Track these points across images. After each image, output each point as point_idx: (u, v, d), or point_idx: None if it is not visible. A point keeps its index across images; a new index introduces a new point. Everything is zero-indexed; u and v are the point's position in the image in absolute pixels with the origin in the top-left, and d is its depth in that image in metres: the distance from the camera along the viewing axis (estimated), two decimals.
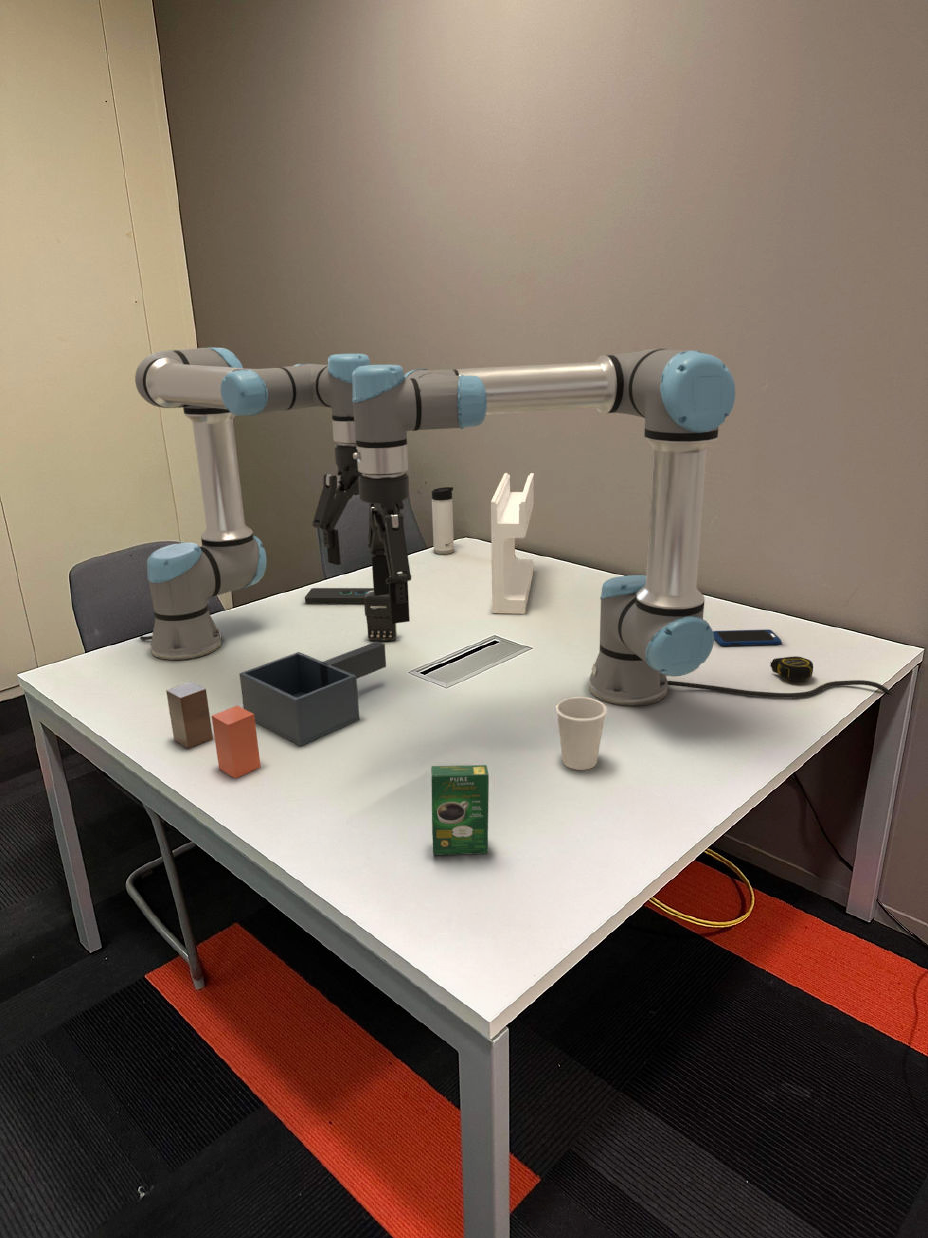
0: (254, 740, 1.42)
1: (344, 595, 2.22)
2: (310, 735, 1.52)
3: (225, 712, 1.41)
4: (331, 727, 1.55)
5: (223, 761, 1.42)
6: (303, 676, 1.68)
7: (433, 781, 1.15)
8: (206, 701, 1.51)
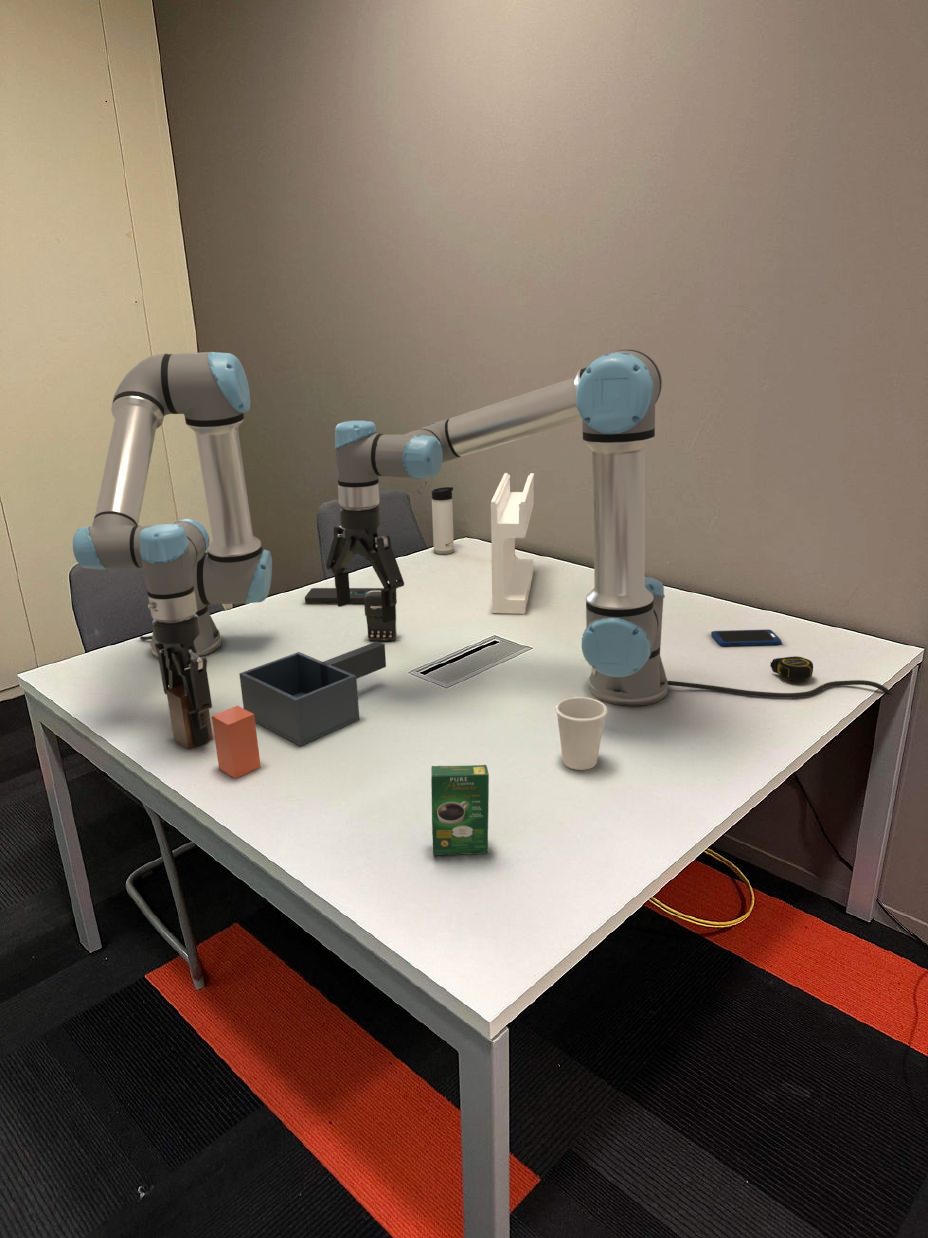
0: (254, 740, 1.42)
1: None
2: (310, 735, 1.52)
3: (225, 712, 1.41)
4: (331, 727, 1.55)
5: (223, 761, 1.42)
6: (303, 676, 1.68)
7: (433, 781, 1.15)
8: None
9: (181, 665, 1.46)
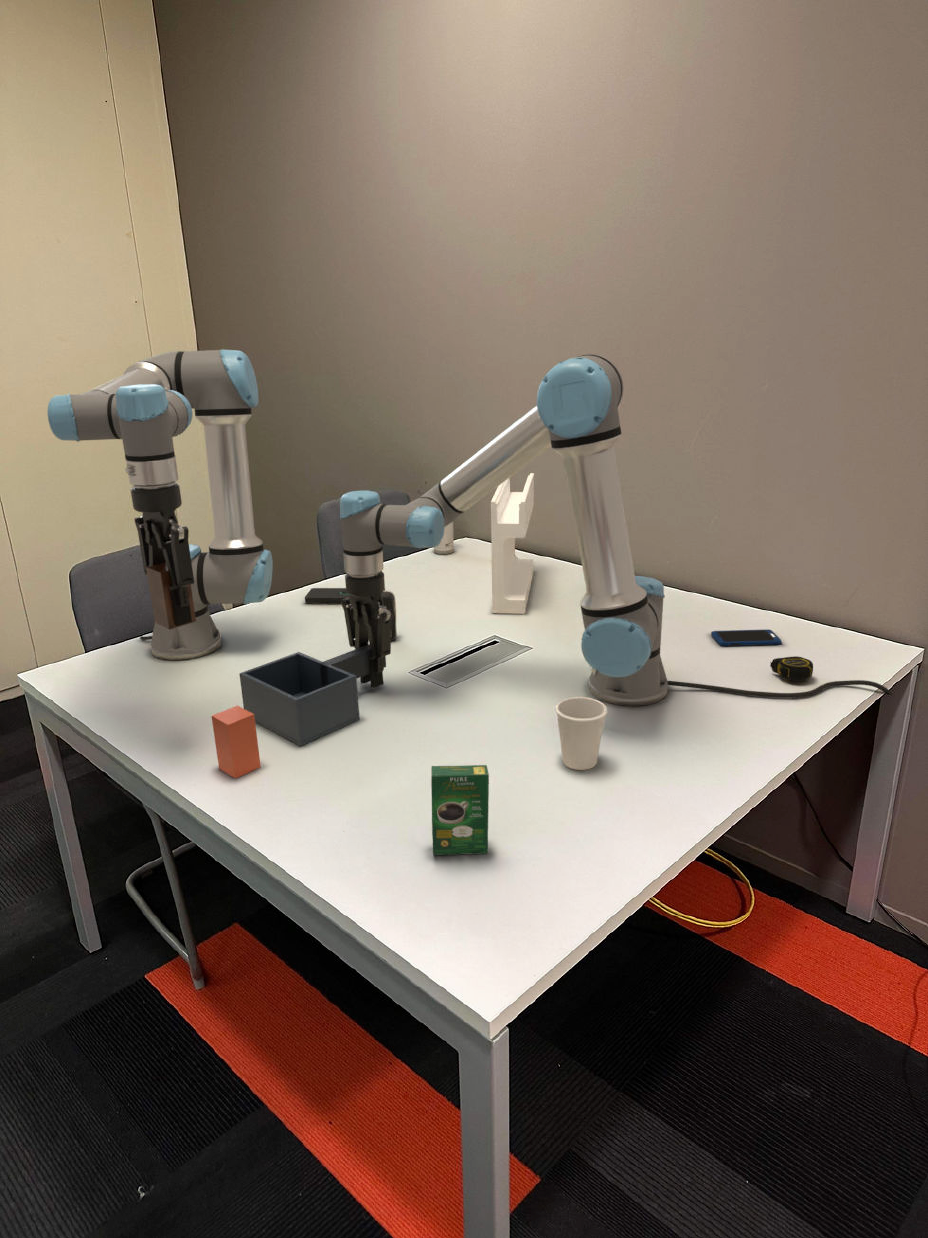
0: (254, 740, 1.42)
1: (344, 595, 2.22)
2: (310, 735, 1.52)
3: (225, 712, 1.41)
4: (331, 727, 1.55)
5: (223, 761, 1.42)
6: (303, 676, 1.68)
7: (433, 781, 1.15)
8: None
9: (162, 536, 1.38)
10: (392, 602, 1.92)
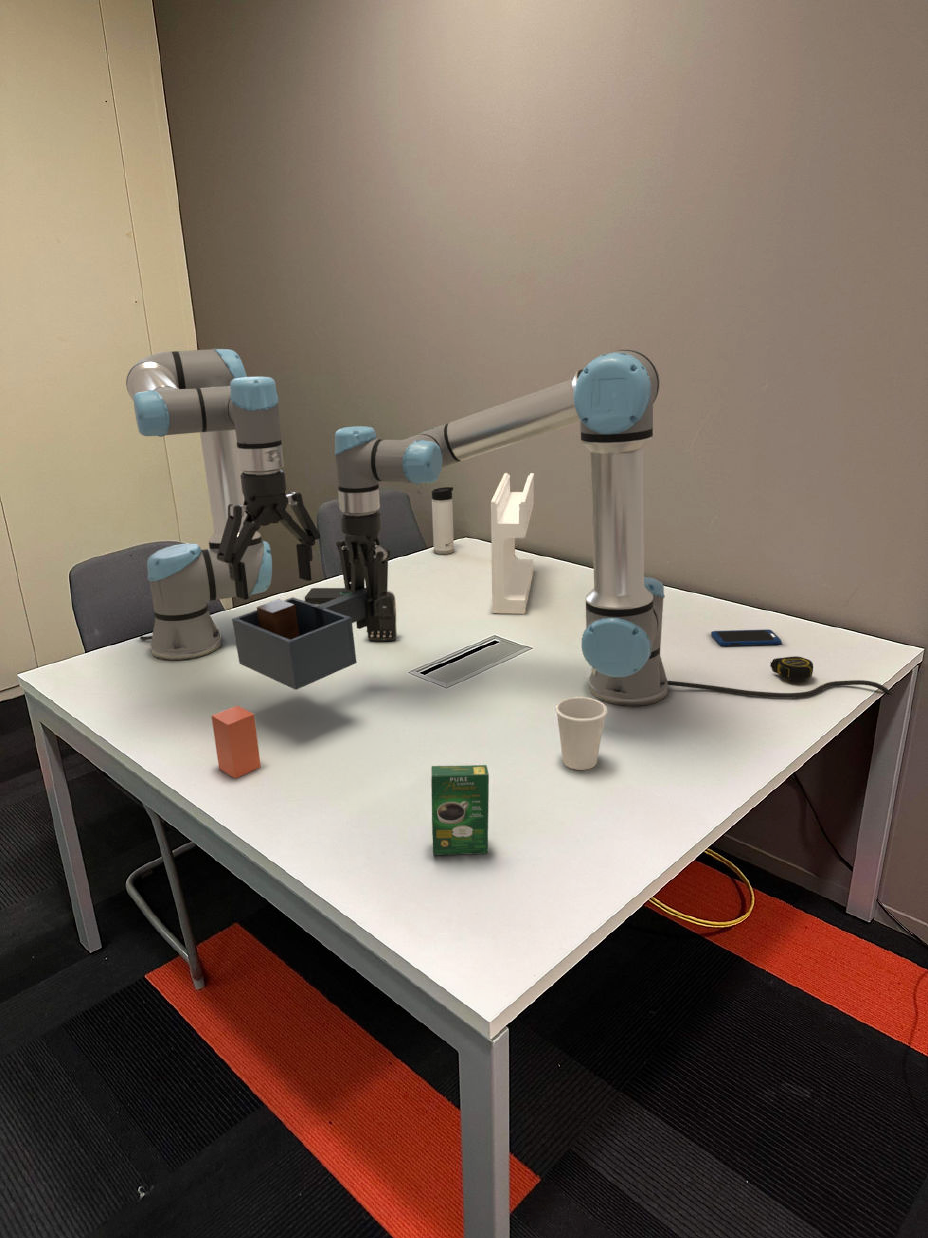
0: (254, 740, 1.42)
1: None
2: (306, 678, 1.48)
3: (225, 712, 1.41)
4: (327, 670, 1.51)
5: (223, 761, 1.42)
6: (298, 622, 1.64)
7: (433, 781, 1.15)
8: None
9: (281, 515, 1.50)
10: (392, 602, 1.92)
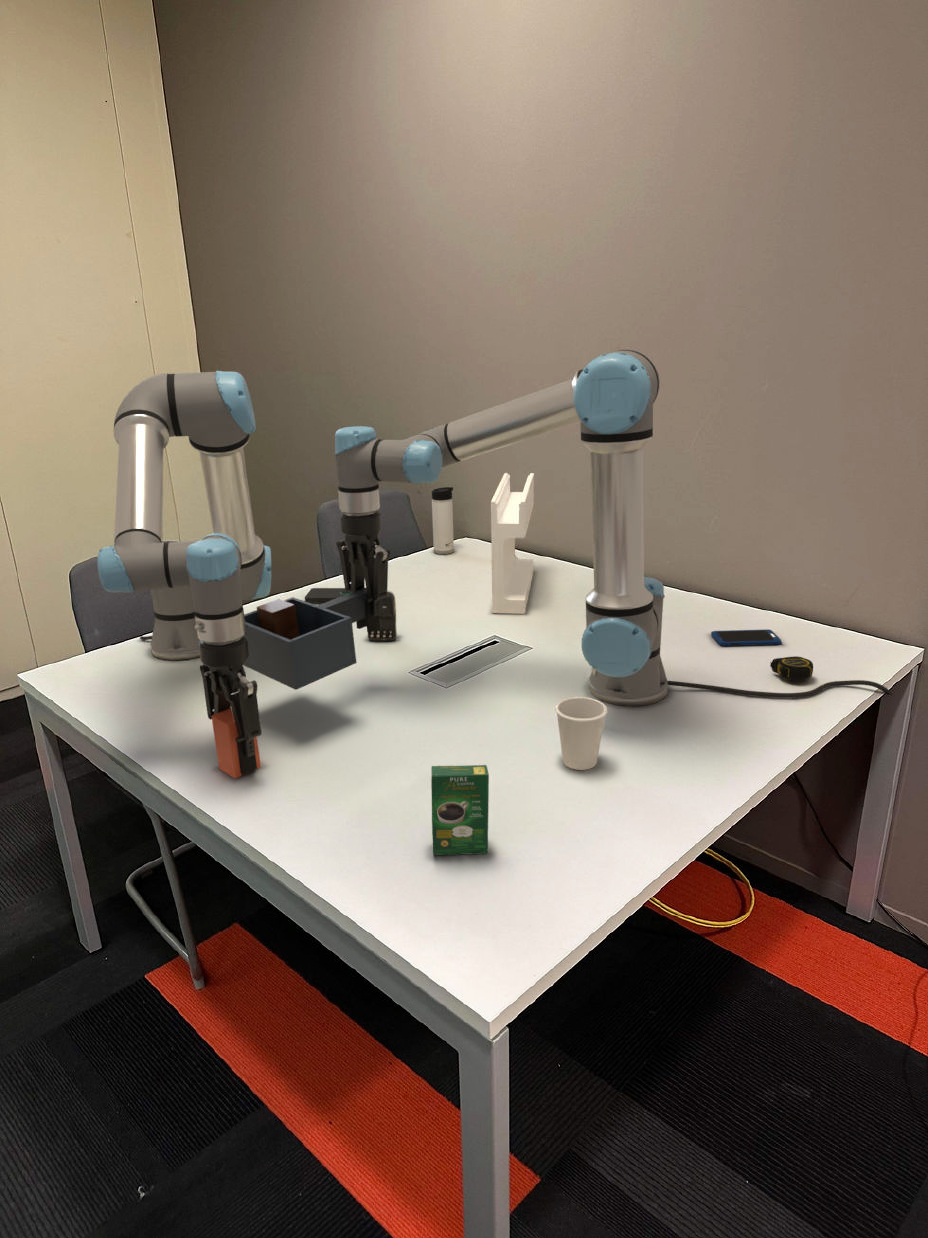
0: (254, 740, 1.42)
1: None
2: (305, 678, 1.48)
3: (225, 712, 1.41)
4: (327, 670, 1.51)
5: (223, 761, 1.42)
6: (298, 622, 1.64)
7: (433, 781, 1.15)
8: None
9: (229, 689, 1.36)
10: (392, 602, 1.92)
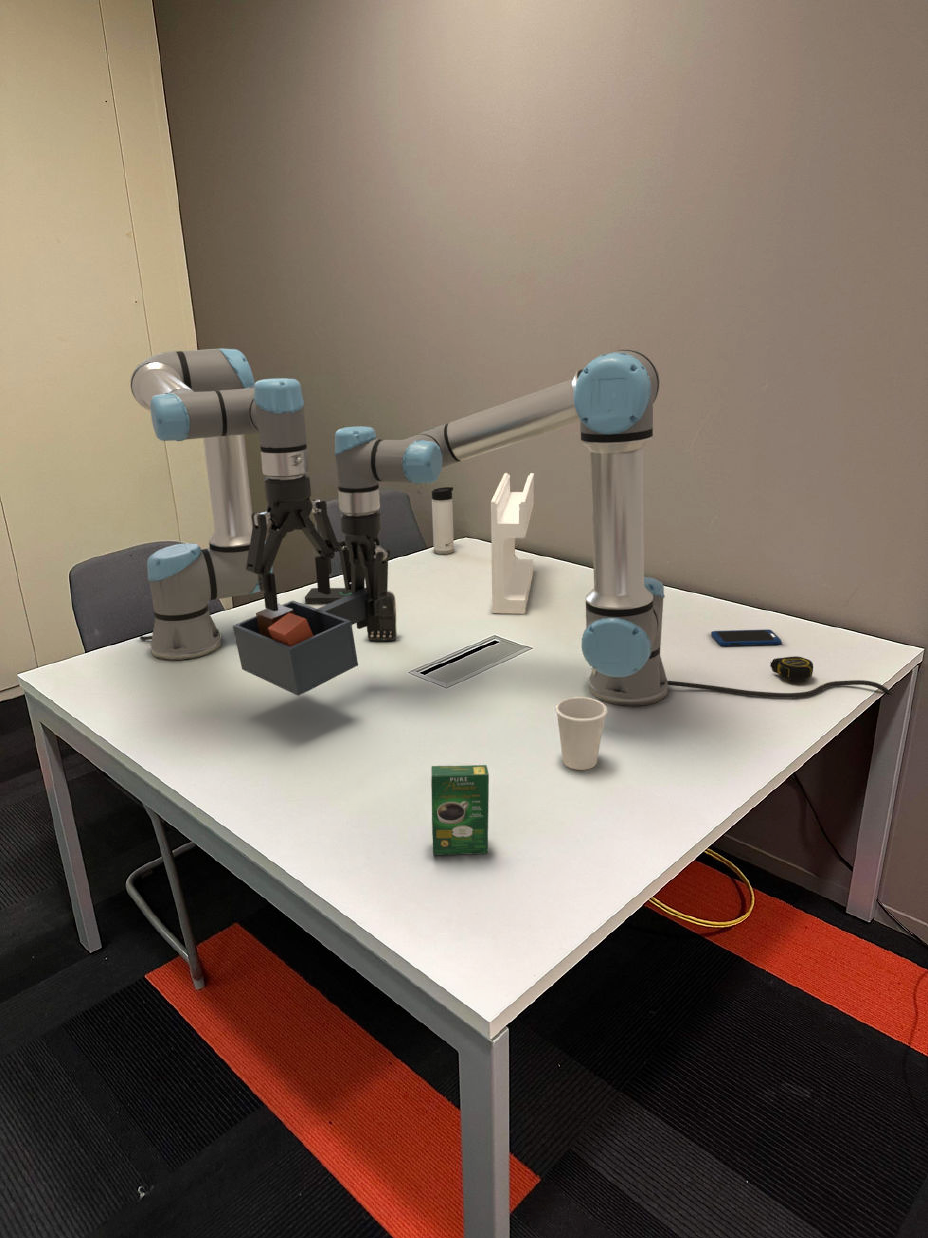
0: None
1: (344, 595, 2.22)
2: (308, 684, 1.49)
3: (280, 629, 1.48)
4: (329, 675, 1.52)
5: None
6: None
7: (433, 781, 1.15)
8: None
9: None
10: (392, 602, 1.92)
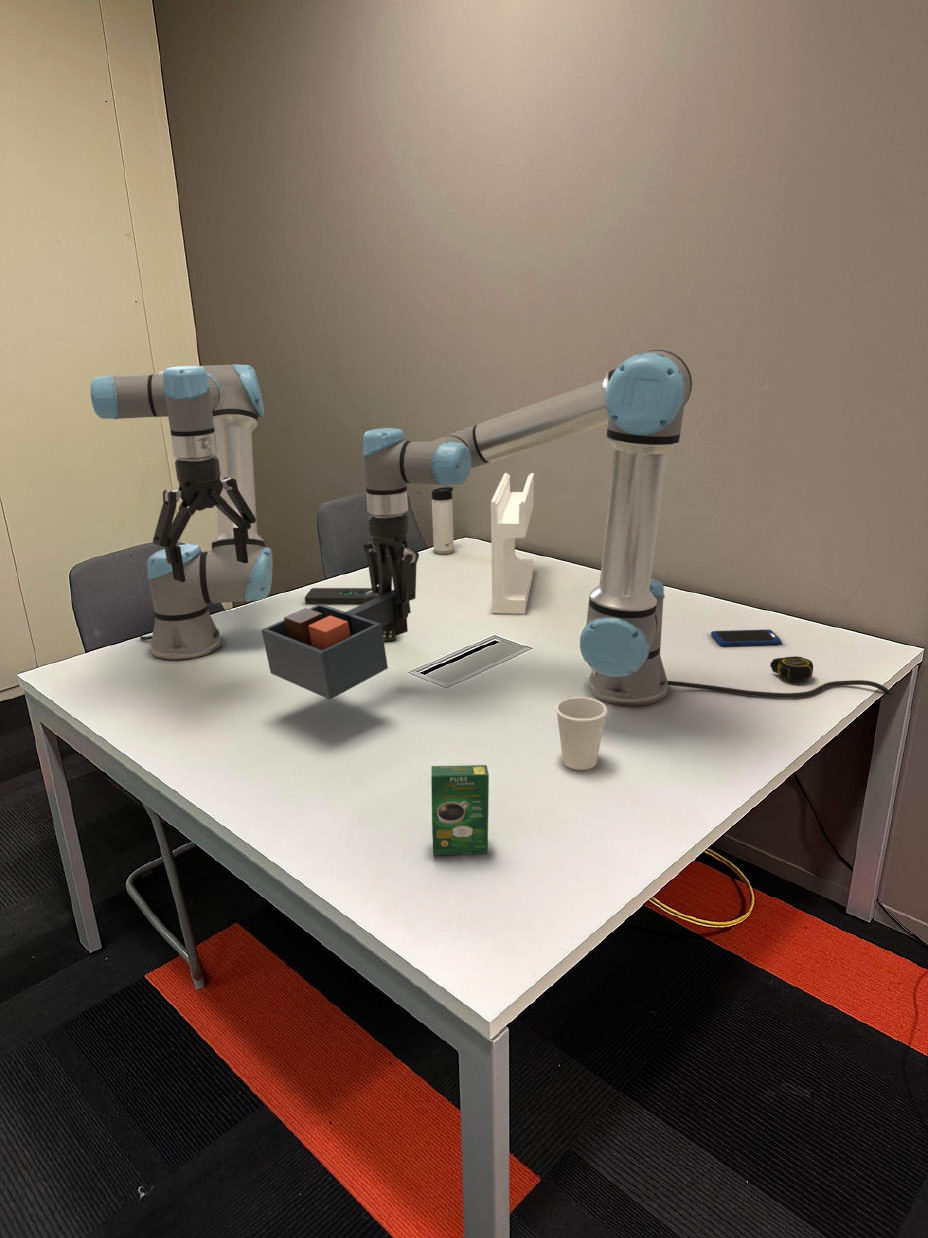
0: None
1: (344, 595, 2.22)
2: (339, 687, 1.48)
3: (321, 627, 1.48)
4: (359, 678, 1.51)
5: None
6: None
7: (433, 781, 1.15)
8: None
9: (216, 500, 1.55)
10: None
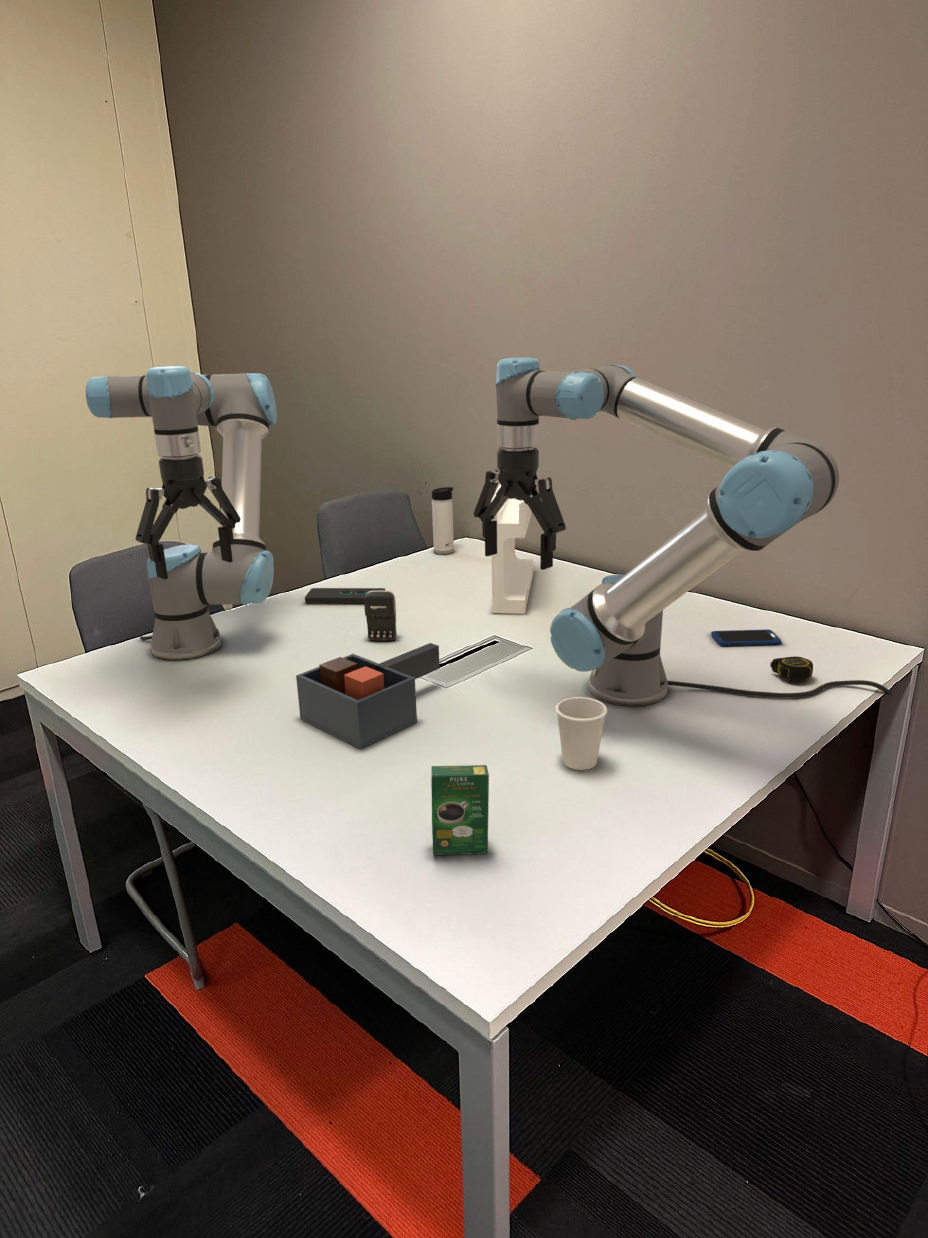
0: None
1: (344, 595, 2.22)
2: (370, 738, 1.50)
3: (357, 677, 1.51)
4: (390, 730, 1.53)
5: None
6: None
7: (433, 781, 1.15)
8: None
9: (199, 499, 1.57)
10: (392, 602, 1.92)
